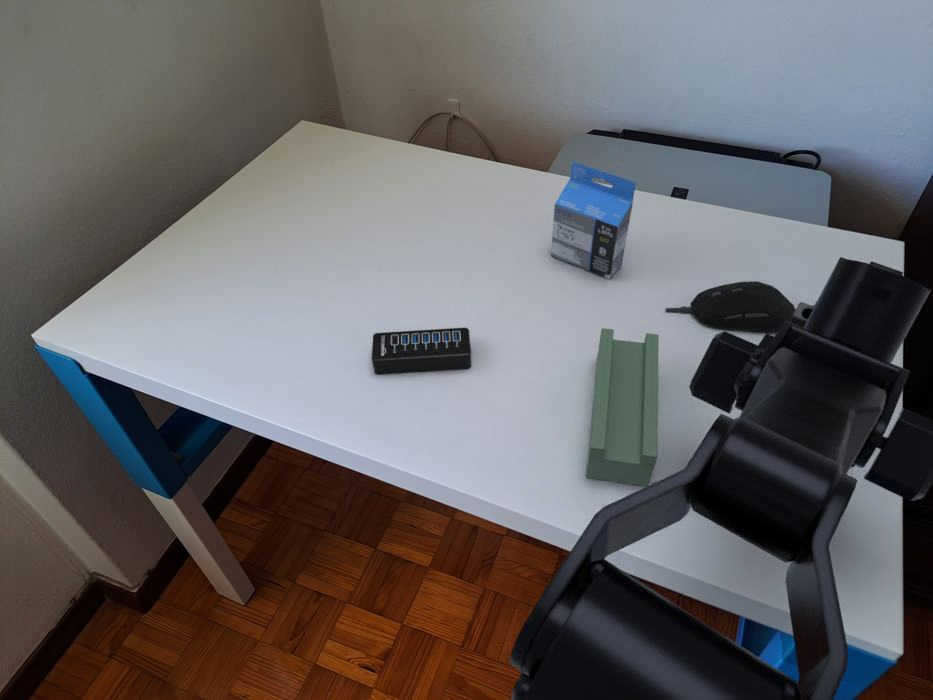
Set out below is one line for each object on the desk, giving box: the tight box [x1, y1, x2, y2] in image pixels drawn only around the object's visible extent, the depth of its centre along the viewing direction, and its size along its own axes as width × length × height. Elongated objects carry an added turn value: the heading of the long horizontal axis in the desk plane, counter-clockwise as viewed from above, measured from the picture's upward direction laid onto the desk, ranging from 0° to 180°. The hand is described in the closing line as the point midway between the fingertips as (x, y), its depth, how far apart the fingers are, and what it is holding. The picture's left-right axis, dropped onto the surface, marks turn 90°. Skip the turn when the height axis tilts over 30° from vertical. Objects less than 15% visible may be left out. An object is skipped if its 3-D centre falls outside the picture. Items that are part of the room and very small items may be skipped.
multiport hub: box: [371, 327, 472, 375], centre depth 78 cm, size 4×11×2 cm, turn 93°
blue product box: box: [550, 160, 637, 280], centre depth 85 cm, size 9×4×12 cm, turn 54°
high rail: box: [585, 327, 660, 487], centre depth 70 cm, size 16×6×5 cm, turn 168°
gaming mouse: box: [665, 280, 796, 333], centre depth 80 cm, size 6×15×4 cm, turn 84°
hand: (812, 410), depth 63 cm, fingers closed on black hanger, 2 cm apart
